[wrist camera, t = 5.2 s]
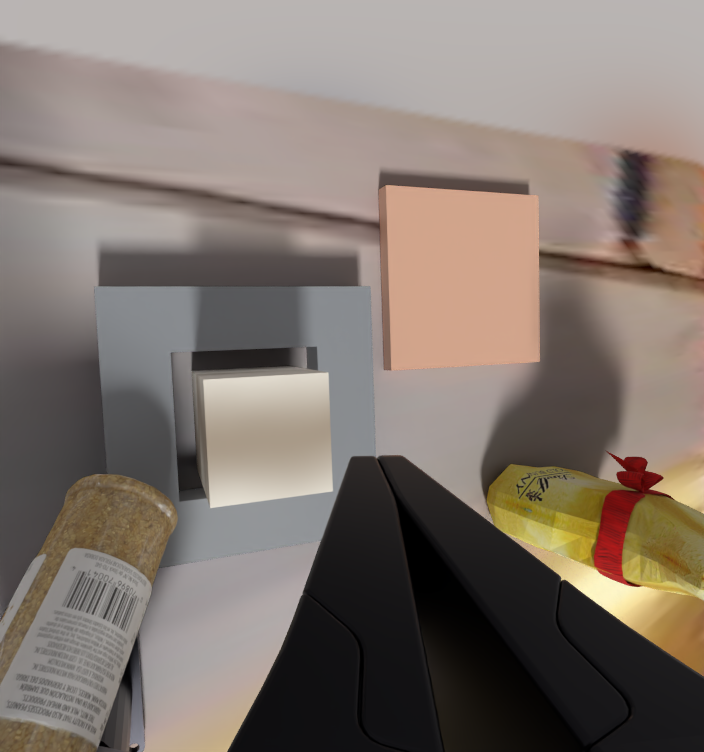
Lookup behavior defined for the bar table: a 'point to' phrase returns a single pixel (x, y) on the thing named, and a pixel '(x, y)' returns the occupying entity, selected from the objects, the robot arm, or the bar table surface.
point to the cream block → (262, 433)
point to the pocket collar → (229, 332)
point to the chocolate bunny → (605, 523)
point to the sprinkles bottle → (80, 614)
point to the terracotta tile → (458, 277)
